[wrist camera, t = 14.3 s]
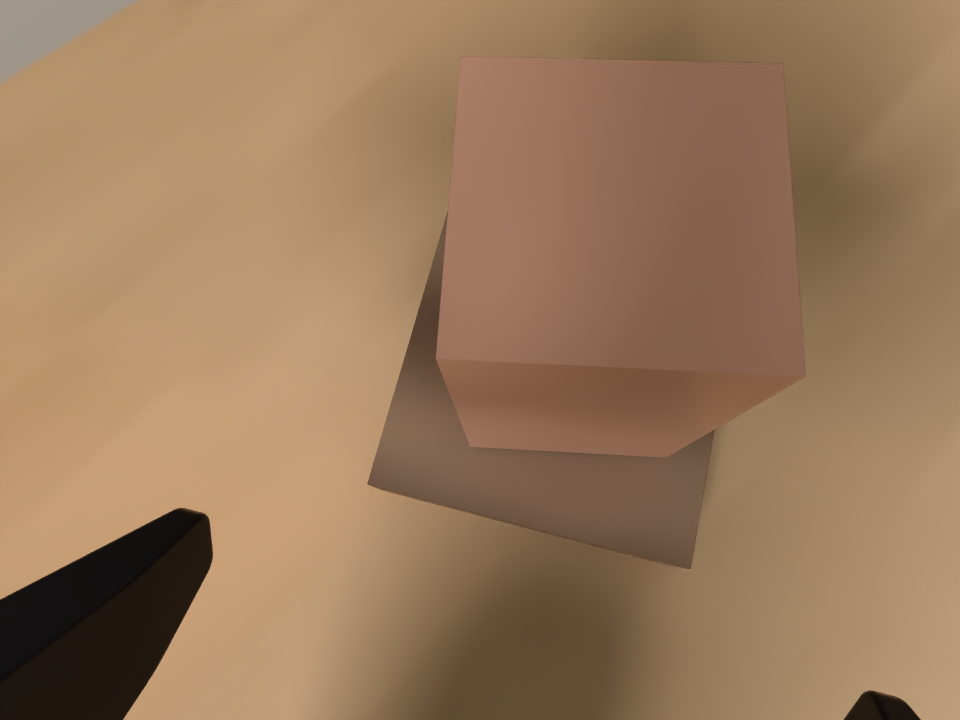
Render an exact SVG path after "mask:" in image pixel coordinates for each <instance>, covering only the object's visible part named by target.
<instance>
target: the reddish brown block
mask: <svg viewBox="0 0 960 720" xmlns="http://www.w3.org/2000/svg"><path fill="white" fill-rule="evenodd" d="M436 361H437V363H438V366H439V368H440V371H441V373H442V376H443V379H444V381H445V384H446V386H447V389H448V391H449V394H450V396H451V399H452V402H453V404H454V407H455V409H456V412H457V414H458V417H459V419H460V422H461V425H462V427H463V430H464V432H465V435H466V437H467V440H468V442H469V445H470V447H481V448H499V449H517V450H535V451H553V452H571V453H589V454H607V455H625V456H643V457H661V458H666V457H668V456H670V455H672V454H673V453H675V452H677V451H678V450H680V449H682V448H684V447H685V446H687V445H689V444H690V443H692V442H694V441H696V440H697V439H699V438H701V437H703V436H704V435H706V434H708V433H709V432H711V431H713V430H715V429H716V428H718V427H720V426H721V425H723V424H725V423H727V422H728V421H730V420H732V419H733V418H735V417H737V416H739V415H740V414H742V413H744V412H745V411H747V410H749V409H751V408H752V407H754V406H756V405H758V404H759V403H761V402H763V401H764V400H766V399H768V398H770V397H771V396H773V395H775V394H776V393H778V392H780V391H782V390H783V389H785V388H787V387H788V386H790V385H792V384H794V383H795V382H797V381H799V380H800V379H802V378H804V377H806V373H805V360H804V346H803V332H802V318H801V304H800V290H799V276H798V263H797V249H796V235H795V221H794V207H793V193H792V179H791V166H790V152H789V138H788V124H787V110H786V96H785V83H784V69H783V63H752V62H705V61H658V60H610V59H563V58H516V57H469V56H461V60H460V72H459V84H458V96H457V109H456V121H455V133H454V145H453V157H452V169H451V181H450V193H449V205H448V217H447V229H446V241H445V253H444V265H443V277H442V289H441V301H440V313H439V326H438V338H437V350H436Z"/></svg>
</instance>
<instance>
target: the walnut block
mask: <svg viewBox="0 0 960 720" xmlns="http://www.w3.org/2000/svg"><path fill="white" fill-rule="evenodd" d="M447 217H448V213H447V216H446V219H445V223H444V226H443V229H442V233H441V236H440V240H439V243H438V246H437V250H436V253H435V257H434V260H433V263H432V267H431V270H430V273H429V277H428V280H427V284H426V287H425V290H424V294H423V297H422V301H421V304H420V307H419V311H418V314H417V317H416V321H415V324H414V328H413V331H412V334H411V338H410V341H409V345H408V348H407V351H406V355H405V358H404V361H403V365H402V368H401V372H400V375H399V378H398V382H397V385H396V389H395V392H394V395H393V399H392V402H391V405H390V409H389V412H388V416H387V419H386V422H385V426H384V429H383V433H382V436H381V439H380V443H379V446H378V450H377V453H376V456H375V460H374V463H373V466H372V470H371V473H370V477H369V480H368V483H367V484H368V485H370V486H373V487H376V488H378V489H381V490H383V491H387V492H391V493H395V494H398V495H402V496H406V497H410V498H414V499H417V500H421V501H425V502H429V503H433V504H436V505H440V506H444V507H448V508H452V509H456V510H459V511H463V512H467V513H471V514H475V515H478V516H482V517H486V518H490V519H494V520H498V521H501V522H505V523H509V524H513V525H517V526H520V527H524V528H528V529H532V530H536V531H539V532H543V533H547V534H551V535H555V536H559V537H562V538H566V539H570V540H574V541H578V542H581V543H585V544H589V545H593V546H597V547H600V548H604V549H608V550H612V551H616V552H620V553H623V554H627V555H631V556H635V557H639V558H642V559H646V560H650V561H654V562H658V563H662V564H665V565H669V566H674V567H681V568H688V569H691V563H692V558H693V552H694V546H695V540H696V534H697V528H698V522H699V516H700V510H701V504H702V498H703V492H704V487H705V481H706V475H707V469H708V463H709V457H710V451H711V445H712V439H713V433H714V430H713V431H711V432H709V433H708V434H706V435H704V436H703V437H701V438H699V439H697V440H696V441H694V442H692V443H690V444H689V445H687V446H685V447H684V448H682V449H680V450H678V451H677V452H675V453H673V454H672V455H670V456H668V457H666V458H661V457H643V456H625V455H607V454H589V453H571V452H553V451H535V450H517V449H499V448H481V447H470V445H469V442H468V440H467V437H466V435H465V432H464V430H463V427H462V425H461V422H460V419H459V417H458V414H457V412H456V409H455V407H454V404H453V402H452V399H451V396H450V394H449V391H448V389H447V386H446V384H445V381H444V379H443V376H442V373H441V371H440V368H439V366H438V363H437V361H436V350H437V338H438V326H439V313H440V301H441V289H442V277H443V265H444V253H445V241H446V229H447Z"/></svg>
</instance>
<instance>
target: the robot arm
mask: <svg viewBox="0 0 960 720" xmlns="http://www.w3.org/2000/svg"><path fill="white" fill-rule="evenodd" d="M212 558H213V549H212V539H211V530H210V521H209V518H208V517H207V515H206V514H204V513H201V512H197V511H194V510H190V509H186V508H178V509H175V510H173V511H171V512H169V513H167V514H165V515H163V516H161V517H159V518H157V519H155V520H153V521H151V522H149V523H148V524H146V525H144V526H142V527H140V528H138V529H136V530H134V531H132V532H130V533H128V534H126V535H124V536H122V537H120V538H118V539H117V540H115V541H113V542H111V543H109V544H107V545H105V546H103V547H101V548H99V549H97V550H95V551H93V552H91V553H89V554H88V555H86V556H84V557H82V558H80V559H78V560H76V561H74V562H72V563H70V564H68V565H66V566H64V567H62V568H60V569H58V570H57V571H55V572H53V573H51V574H49V575H47V576H45V577H43V578H41V579H39V580H37V581H35V582H33V583H31V584H29V585H28V586H26V587H24V588H22V589H20V590H18V591H16V592H14V593H12V594H10V595H8V596H6V597H4V598H2V599H0V720H123V719H124V717H125V716H126V714H127V713H128V711H129V710H130V708H131V707H132V705H133V704H134V702H135V701H136V699H137V698H138V696H139V695H140V693H141V692H142V690H143V689H144V687H145V686H146V684H147V683H148V681H149V679H150V678H151V676H152V675H153V673H154V672H155V670H156V668H157V667H158V665H159V663H160V661H161V659H162V658H163V656H164V654H165V652H166V650H167V648H168V647H169V645H170V643H171V641H172V639H173V637H174V635H175V633H176V631H177V630H178V628H179V626H180V624H181V622H182V620H183V618H184V616H185V615H186V613H187V611H188V609H189V607H190V605H191V603H192V601H193V599H194V598H195V596H196V594H197V592H198V590H199V588H200V586H201V584H202V582H203V581H204V579H205V577H206V575H207V573H208V571H209V569H210V566H211V563H212ZM844 720H920V718H919V717H918V716H917V715H916V714H915V712H914V711H913V710H912V709H911V707H910V706H909V705H908V704H907V703H906V702H904V701H903V700H902V699H900V698H898V697H895V696H891V695H887V694H884V693H880V692H876V691H870V690H869V691H867V692H864V693H863V694H862V695H861V696H860V698H859V699H858V700H857V702H856V703H855V705H854V706H853V707H852V709H851V710H850V712H849V713H848V714H847V716H846V717H845V719H844Z"/></svg>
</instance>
